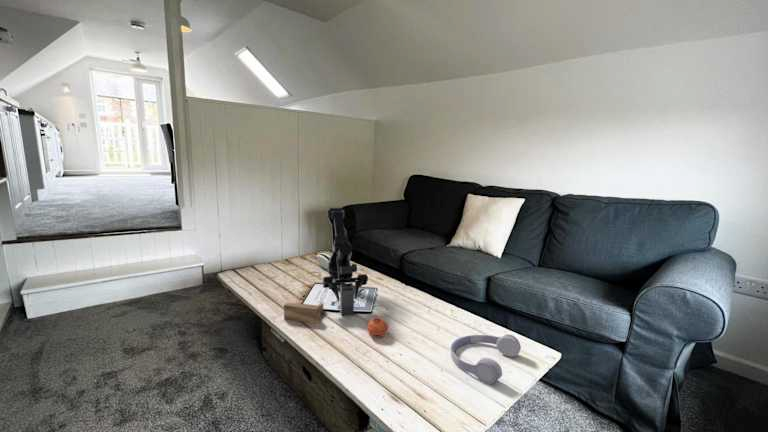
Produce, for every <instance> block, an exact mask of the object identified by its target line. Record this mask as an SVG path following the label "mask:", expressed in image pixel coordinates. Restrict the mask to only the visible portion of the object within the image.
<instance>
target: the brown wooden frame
mask: <svg viewBox="0 0 768 432" xmlns="http://www.w3.org/2000/svg"><path fill="white" fill-rule="evenodd" d="M323 312H324V302H320V303H319V304H318V305H316V304H309V303H304V300H303V299H302V300H301V299H300V300H298V302H291V301H290V302H289V301H287V302H286V303H285V304H284V305H283V317H284V318H283V319H284V320H289V321H296V322H302V323H303V322H304V323H311V324H318V323H319V321H320V320H321V317H320V316H321V314H322V313H323Z"/></svg>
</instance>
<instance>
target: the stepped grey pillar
mask: <svg viewBox="0 0 768 432" xmlns="http://www.w3.org/2000/svg"><path fill="white" fill-rule="evenodd" d="M339 287H340V290H339V293H340V295H339V305H340V309H339V310H340V311H339V312H340V316H341V317H347V316H354V314H355V313H354V310H355V308H354V306H355V305H354V304H355V303H354V302H355V301H354V300H355V285H354V284H353V282H351V283H344V284H340V286H339Z"/></svg>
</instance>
